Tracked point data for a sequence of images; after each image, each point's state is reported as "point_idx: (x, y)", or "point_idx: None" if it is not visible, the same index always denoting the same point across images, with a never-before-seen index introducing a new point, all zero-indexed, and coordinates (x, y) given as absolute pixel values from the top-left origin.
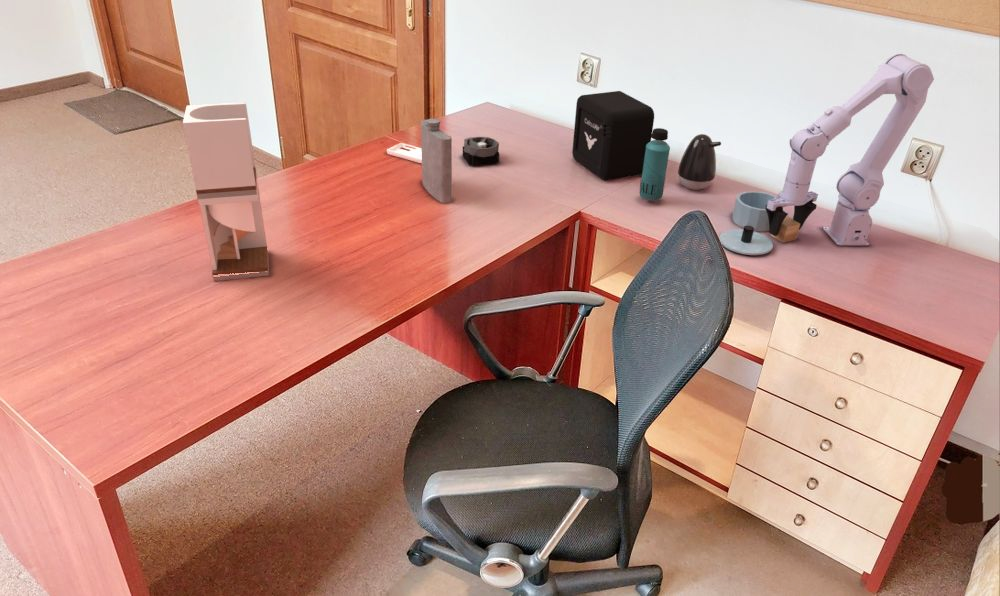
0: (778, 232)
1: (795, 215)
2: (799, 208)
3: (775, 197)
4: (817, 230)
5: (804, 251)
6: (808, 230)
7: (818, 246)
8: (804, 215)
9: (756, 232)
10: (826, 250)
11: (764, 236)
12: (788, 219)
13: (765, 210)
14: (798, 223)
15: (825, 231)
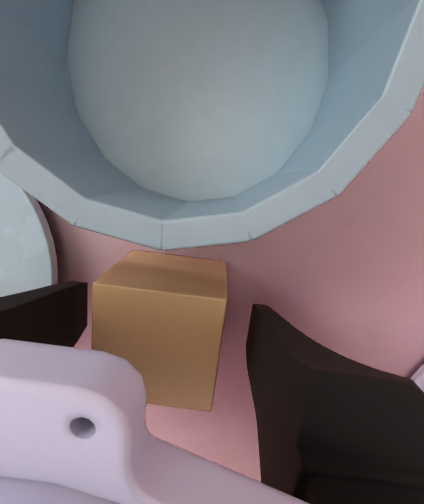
0: (72, 343)
1: (270, 345)
2: (280, 416)
3: (418, 10)
4: (402, 338)
5: (153, 423)
6: (362, 315)
7: (248, 428)
8: (260, 444)
9: (35, 220)
10: (245, 461)
11: (44, 275)
12: (190, 335)
13: (40, 199)
14: (202, 403)
15: (414, 374)
